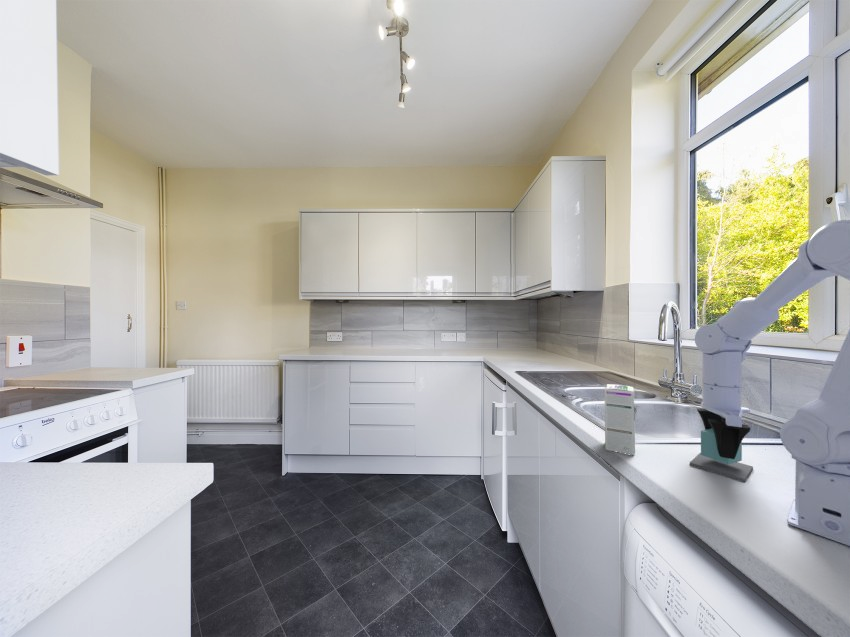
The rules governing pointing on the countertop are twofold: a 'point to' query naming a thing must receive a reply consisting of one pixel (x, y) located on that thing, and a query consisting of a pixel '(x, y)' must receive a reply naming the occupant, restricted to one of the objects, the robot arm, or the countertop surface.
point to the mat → (723, 467)
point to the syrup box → (619, 418)
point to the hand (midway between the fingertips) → (720, 450)
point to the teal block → (711, 448)
